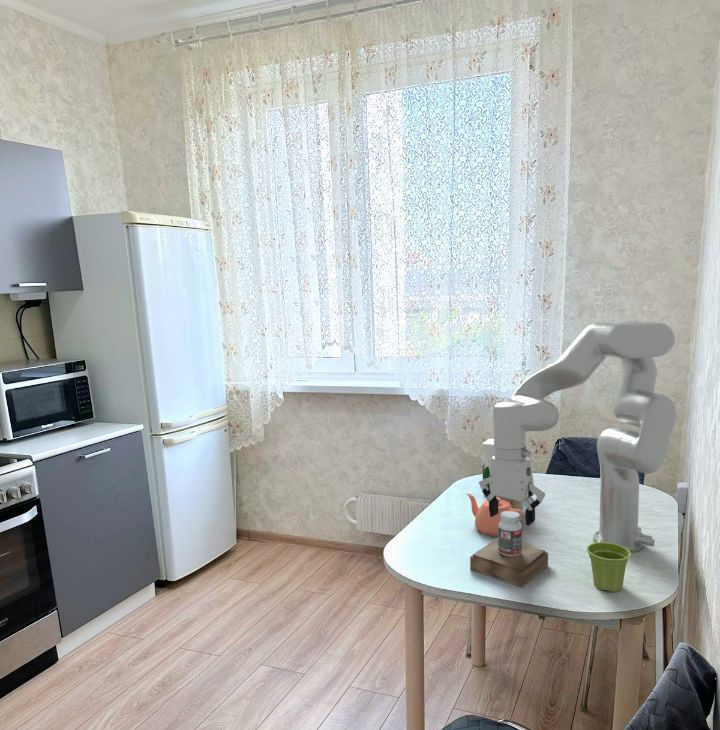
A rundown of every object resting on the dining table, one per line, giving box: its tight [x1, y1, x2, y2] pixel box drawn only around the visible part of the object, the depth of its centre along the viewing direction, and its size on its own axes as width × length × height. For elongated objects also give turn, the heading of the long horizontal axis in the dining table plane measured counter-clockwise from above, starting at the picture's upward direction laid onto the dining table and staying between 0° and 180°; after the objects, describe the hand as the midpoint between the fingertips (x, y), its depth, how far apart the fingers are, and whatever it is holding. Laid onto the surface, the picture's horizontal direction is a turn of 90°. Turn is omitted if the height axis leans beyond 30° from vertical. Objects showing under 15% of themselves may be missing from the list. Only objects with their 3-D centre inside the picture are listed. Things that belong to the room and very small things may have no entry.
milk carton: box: [481, 438, 494, 489], centre depth 199 cm, size 9×9×20 cm
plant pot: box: [586, 542, 632, 593], centre depth 136 cm, size 9×9×9 cm
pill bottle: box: [497, 511, 523, 557], centre depth 146 cm, size 6×6×10 cm
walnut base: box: [469, 537, 549, 588], centre depth 147 cm, size 14×14×4 cm
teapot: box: [465, 493, 524, 538], centre depth 170 cm, size 12×18×10 cm
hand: (511, 519), depth 145 cm, fingers open, 9 cm apart
